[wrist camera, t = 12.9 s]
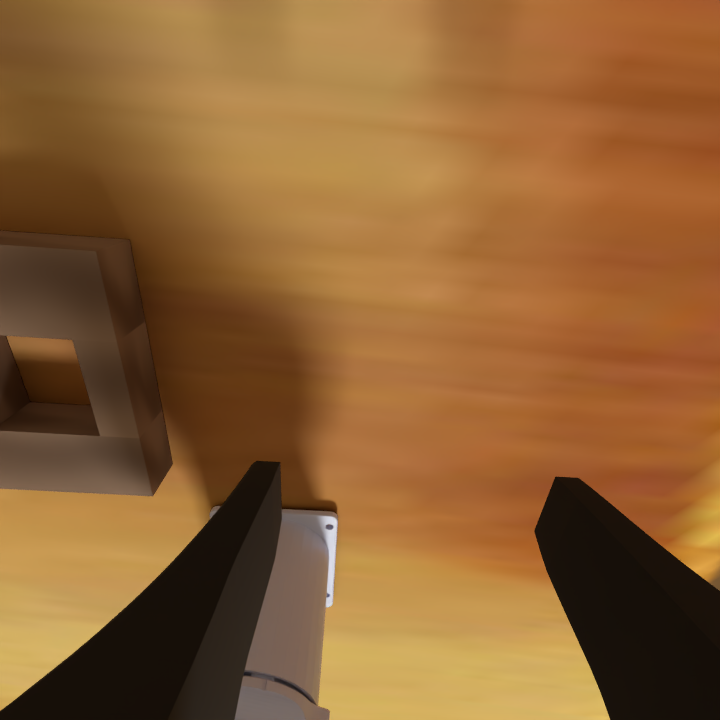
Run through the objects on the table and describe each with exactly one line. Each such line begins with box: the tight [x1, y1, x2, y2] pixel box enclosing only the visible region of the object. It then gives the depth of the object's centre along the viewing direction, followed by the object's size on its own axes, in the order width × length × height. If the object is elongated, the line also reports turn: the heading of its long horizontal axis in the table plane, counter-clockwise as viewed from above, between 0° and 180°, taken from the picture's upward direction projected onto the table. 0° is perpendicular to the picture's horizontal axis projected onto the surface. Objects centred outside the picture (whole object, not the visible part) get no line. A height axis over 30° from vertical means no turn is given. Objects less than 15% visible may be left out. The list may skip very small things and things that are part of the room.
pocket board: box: [0, 231, 173, 496], centre depth 19 cm, size 13×9×2 cm
